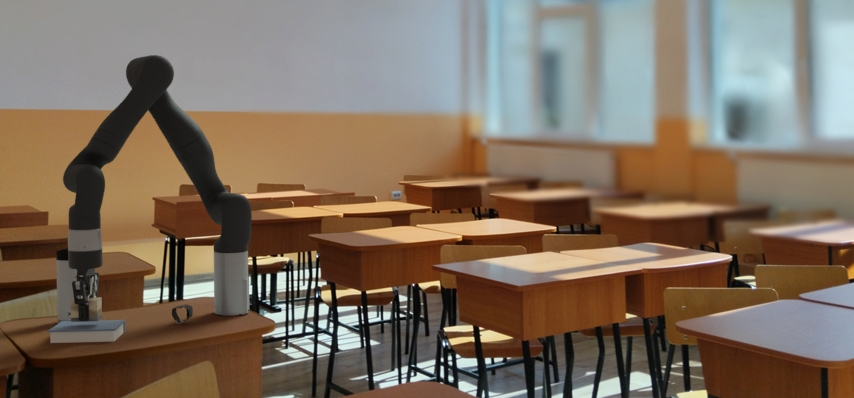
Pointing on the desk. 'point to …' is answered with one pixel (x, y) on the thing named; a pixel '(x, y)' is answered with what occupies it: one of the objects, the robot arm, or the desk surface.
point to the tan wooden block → (94, 310)
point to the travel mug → (64, 285)
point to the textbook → (87, 331)
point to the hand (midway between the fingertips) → (86, 318)
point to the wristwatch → (189, 313)
